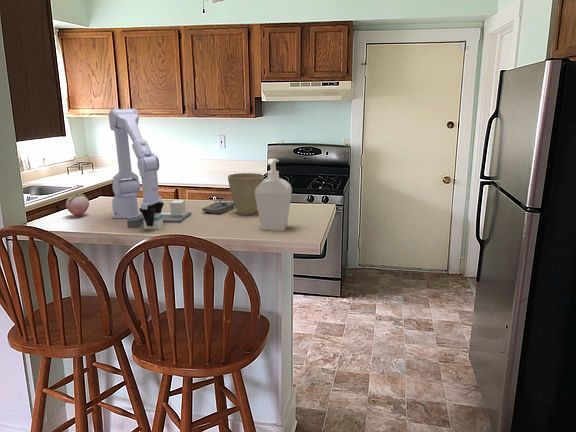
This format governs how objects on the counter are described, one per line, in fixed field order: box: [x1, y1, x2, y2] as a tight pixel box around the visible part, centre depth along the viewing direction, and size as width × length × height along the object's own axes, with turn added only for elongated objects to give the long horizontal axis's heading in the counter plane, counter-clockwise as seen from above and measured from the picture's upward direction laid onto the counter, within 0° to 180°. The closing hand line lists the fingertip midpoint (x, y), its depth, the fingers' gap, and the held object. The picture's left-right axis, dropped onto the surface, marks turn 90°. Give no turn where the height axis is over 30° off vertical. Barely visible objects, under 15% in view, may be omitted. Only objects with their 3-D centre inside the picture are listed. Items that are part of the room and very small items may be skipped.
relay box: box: [126, 216, 144, 229], centre depth 184 cm, size 4×6×3 cm, turn 176°
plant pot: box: [227, 172, 264, 216], centre depth 200 cm, size 15×15×16 cm
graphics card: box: [201, 198, 236, 214], centre depth 208 cm, size 17×4×12 cm
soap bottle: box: [255, 158, 293, 232], centre depth 174 cm, size 12×10×26 cm
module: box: [143, 213, 164, 230], centre depth 181 cm, size 6×5×5 cm
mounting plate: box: [140, 199, 192, 224], centre depth 194 cm, size 18×14×7 cm
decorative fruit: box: [65, 192, 90, 217], centre depth 199 cm, size 9×8×10 cm
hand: (153, 223), depth 181 cm, fingers open, 6 cm apart
